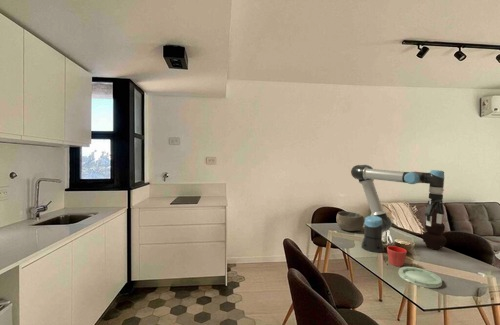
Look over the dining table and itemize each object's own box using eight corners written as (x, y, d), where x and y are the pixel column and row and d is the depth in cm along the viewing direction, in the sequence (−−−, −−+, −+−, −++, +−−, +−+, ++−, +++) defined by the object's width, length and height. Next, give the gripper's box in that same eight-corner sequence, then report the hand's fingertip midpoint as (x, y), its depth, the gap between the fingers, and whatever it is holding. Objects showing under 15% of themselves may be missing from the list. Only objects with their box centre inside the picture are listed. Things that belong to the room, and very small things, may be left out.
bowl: (333, 225, 241) (334, 210, 240) (359, 226, 237) (359, 211, 237) (339, 232, 217) (339, 216, 216) (367, 234, 213) (368, 217, 213)
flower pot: (409, 268, 149) (409, 253, 148) (389, 266, 151) (390, 251, 151) (402, 261, 159) (402, 246, 159) (384, 259, 161) (384, 245, 161)
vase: (438, 253, 174) (440, 212, 173) (416, 245, 188) (418, 207, 187) (451, 250, 180) (452, 210, 180) (429, 243, 194) (430, 206, 194)
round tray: (398, 281, 133) (399, 277, 133) (398, 267, 150) (398, 263, 150) (445, 292, 123) (445, 288, 123) (438, 275, 140) (438, 272, 140)
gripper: (432, 195, 152) (430, 228, 153) (451, 193, 164) (449, 224, 165) (419, 193, 159) (417, 225, 160) (438, 191, 171) (436, 221, 172)
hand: (433, 224), depth 162 cm, fingers open, 13 cm apart
